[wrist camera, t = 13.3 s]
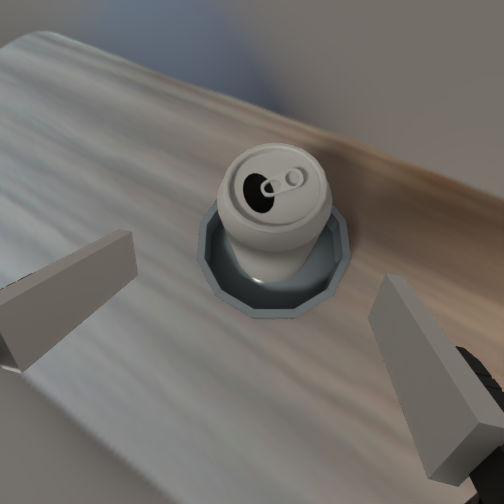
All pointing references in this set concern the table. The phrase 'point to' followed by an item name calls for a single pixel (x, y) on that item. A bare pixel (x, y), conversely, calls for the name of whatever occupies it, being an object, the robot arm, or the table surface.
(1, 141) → the table surface
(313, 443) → the table surface
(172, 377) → the table surface
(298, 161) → the can
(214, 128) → the table surface
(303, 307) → the dish
